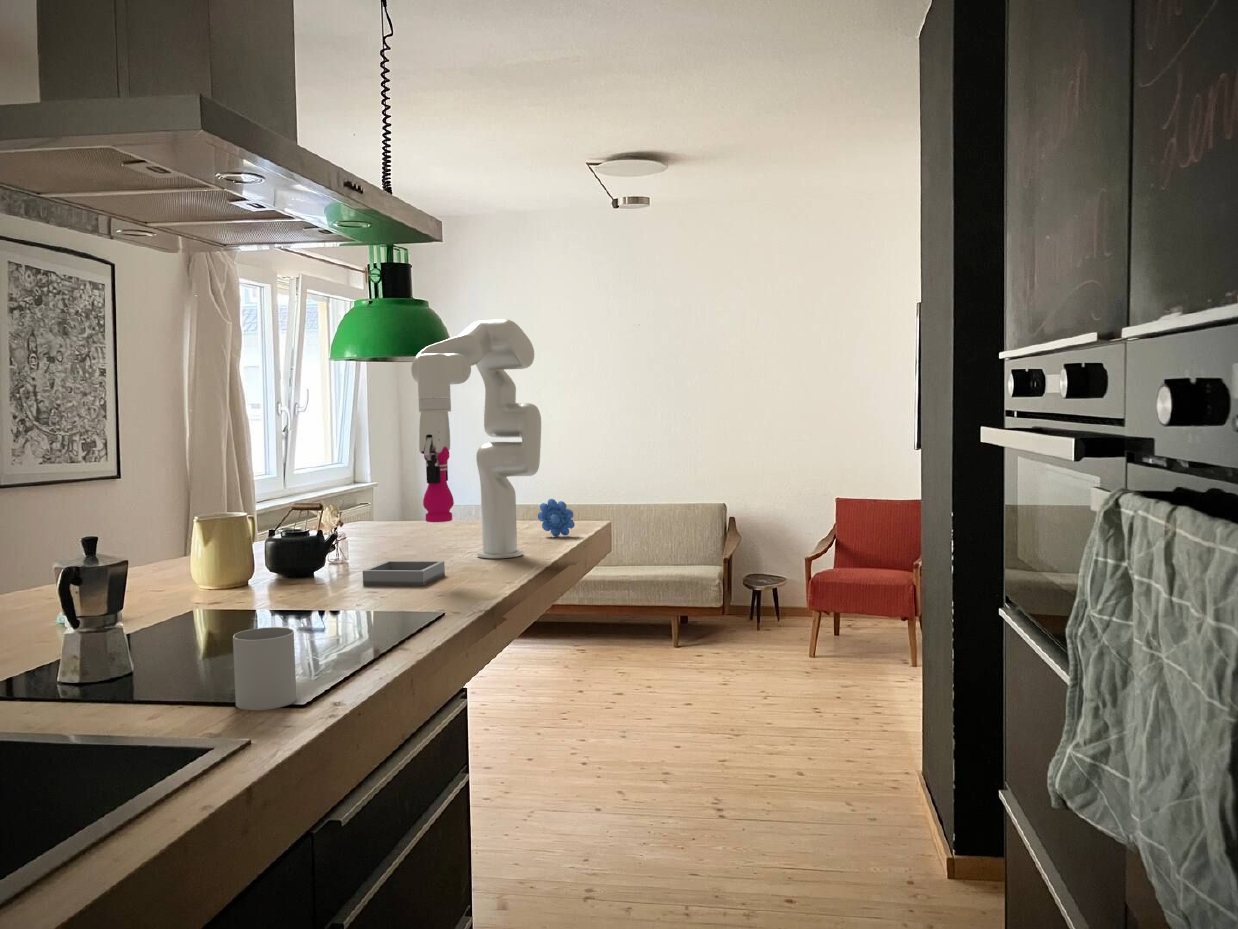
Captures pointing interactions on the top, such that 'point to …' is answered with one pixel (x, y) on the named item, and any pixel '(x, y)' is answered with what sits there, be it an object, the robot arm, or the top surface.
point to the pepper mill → (439, 494)
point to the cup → (264, 668)
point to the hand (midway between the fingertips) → (437, 481)
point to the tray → (403, 573)
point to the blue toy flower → (556, 517)
